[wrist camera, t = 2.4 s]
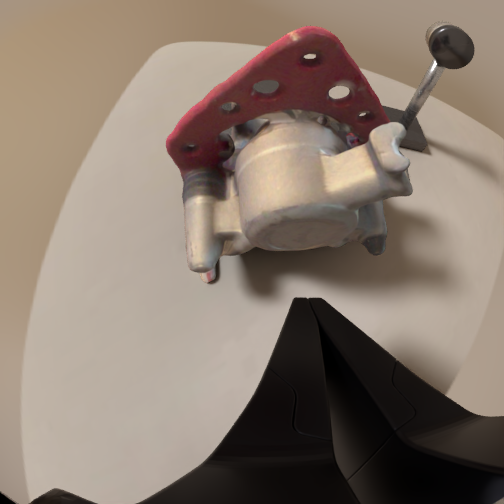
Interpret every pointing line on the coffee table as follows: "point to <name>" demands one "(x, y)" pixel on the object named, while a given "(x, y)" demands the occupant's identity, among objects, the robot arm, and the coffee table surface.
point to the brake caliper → (288, 157)
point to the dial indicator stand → (433, 77)
